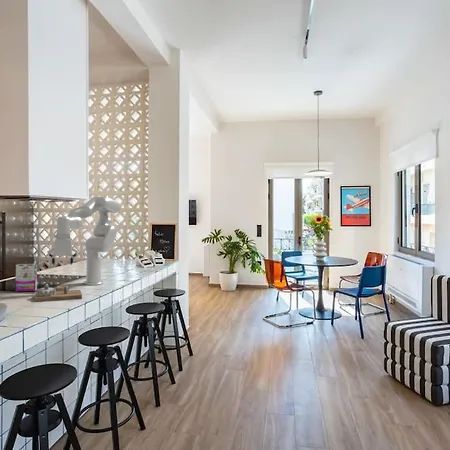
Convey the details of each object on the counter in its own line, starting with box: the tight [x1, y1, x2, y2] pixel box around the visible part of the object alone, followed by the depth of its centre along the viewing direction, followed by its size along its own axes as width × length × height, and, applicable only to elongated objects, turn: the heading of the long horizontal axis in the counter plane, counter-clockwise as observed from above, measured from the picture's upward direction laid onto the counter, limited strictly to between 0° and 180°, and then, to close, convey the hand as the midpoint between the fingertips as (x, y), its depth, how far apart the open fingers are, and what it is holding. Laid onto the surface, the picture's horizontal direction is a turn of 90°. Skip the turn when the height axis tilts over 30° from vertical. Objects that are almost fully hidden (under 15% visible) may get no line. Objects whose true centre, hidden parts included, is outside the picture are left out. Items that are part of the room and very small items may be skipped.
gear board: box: [34, 284, 83, 303], centre depth 208 cm, size 15×24×7 cm, turn 115°
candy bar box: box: [14, 263, 38, 293], centre depth 221 cm, size 11×5×16 cm, turn 106°
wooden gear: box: [55, 285, 70, 291], centre depth 221 cm, size 7×7×3 cm
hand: (62, 264), depth 220 cm, fingers open, 9 cm apart
